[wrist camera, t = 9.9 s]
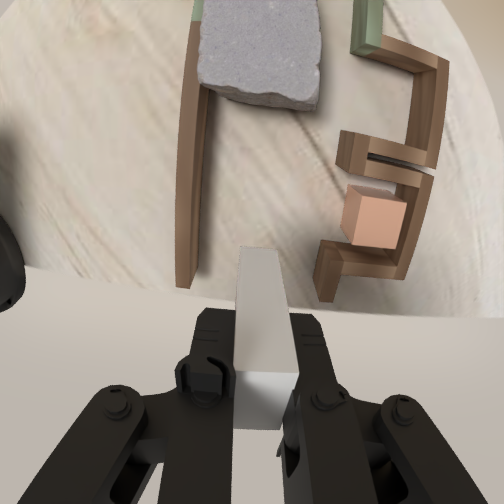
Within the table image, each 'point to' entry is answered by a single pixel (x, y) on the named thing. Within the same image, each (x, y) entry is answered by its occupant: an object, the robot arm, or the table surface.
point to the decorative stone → (262, 51)
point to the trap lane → (348, 157)
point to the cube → (372, 217)
